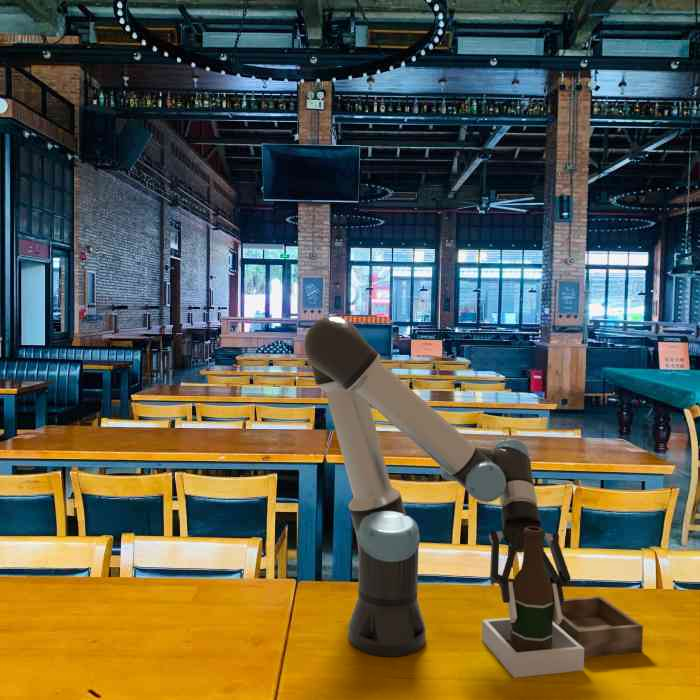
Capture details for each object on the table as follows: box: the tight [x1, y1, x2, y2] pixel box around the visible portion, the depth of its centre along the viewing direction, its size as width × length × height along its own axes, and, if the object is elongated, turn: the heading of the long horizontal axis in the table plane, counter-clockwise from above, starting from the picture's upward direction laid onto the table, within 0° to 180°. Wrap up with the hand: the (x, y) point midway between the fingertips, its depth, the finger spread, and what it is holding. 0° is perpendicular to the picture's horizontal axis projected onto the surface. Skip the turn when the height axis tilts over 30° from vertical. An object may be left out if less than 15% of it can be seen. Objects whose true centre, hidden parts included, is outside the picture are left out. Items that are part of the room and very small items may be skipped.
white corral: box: [481, 617, 585, 679], centre depth 118 cm, size 14×14×4 cm
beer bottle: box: [509, 526, 553, 652], centre depth 118 cm, size 8×8×24 cm
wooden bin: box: [553, 596, 644, 659], centre depth 125 cm, size 14×14×5 cm
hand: (536, 620), depth 115 cm, fingers closed on beer bottle, 7 cm apart
